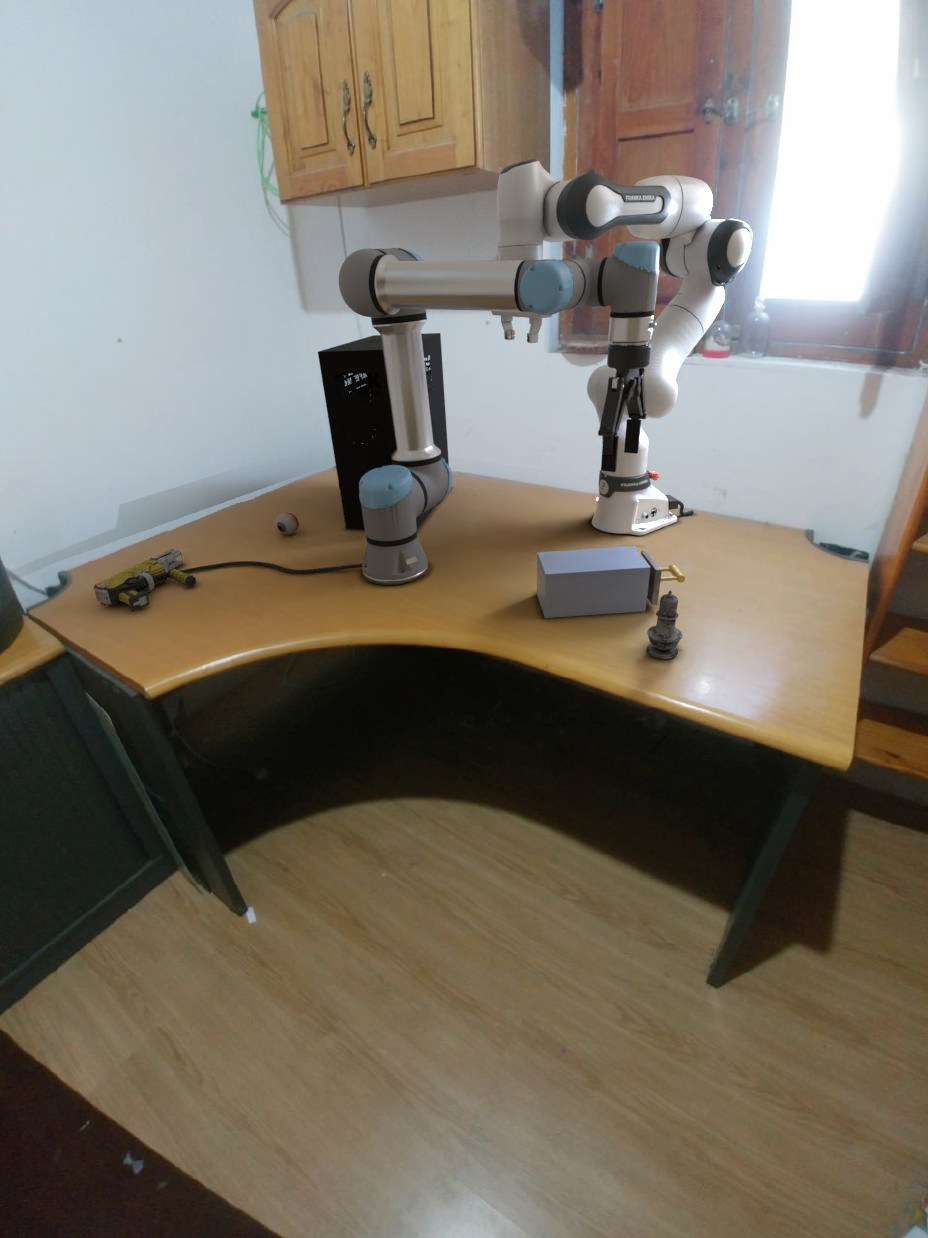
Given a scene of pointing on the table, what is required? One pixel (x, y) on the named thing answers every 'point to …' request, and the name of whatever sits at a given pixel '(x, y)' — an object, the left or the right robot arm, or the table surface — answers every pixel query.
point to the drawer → (658, 577)
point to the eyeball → (287, 523)
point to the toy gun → (141, 581)
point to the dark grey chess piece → (665, 629)
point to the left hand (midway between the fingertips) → (620, 461)
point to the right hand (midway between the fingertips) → (520, 341)
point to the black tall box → (372, 413)
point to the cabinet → (592, 581)
